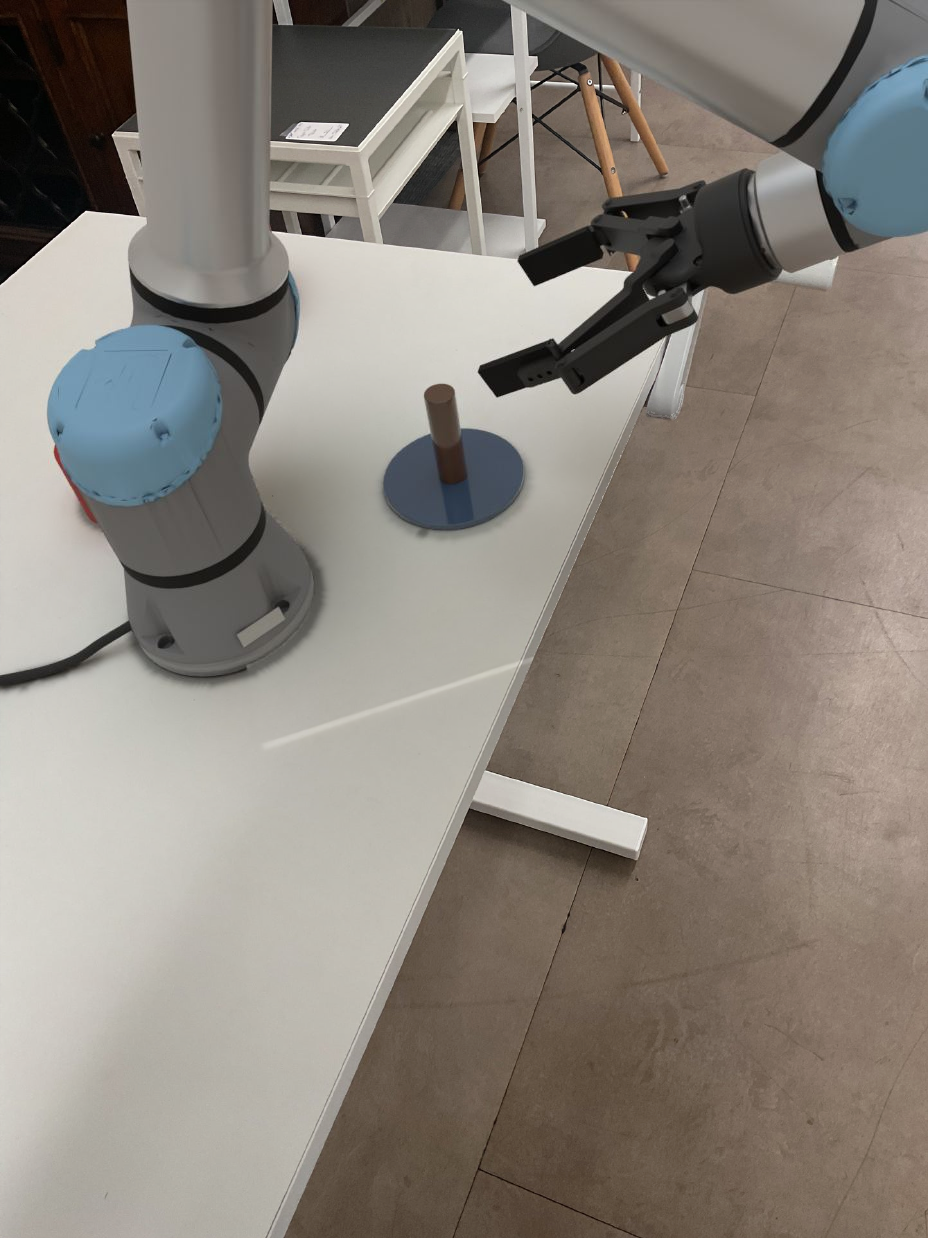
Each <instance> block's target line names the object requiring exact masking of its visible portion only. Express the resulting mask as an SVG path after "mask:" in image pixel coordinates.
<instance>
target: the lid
mask: <svg viewBox="0 0 928 1238" xmlns="http://www.w3.org/2000/svg"><path fill="white" fill-rule="evenodd" d="M423 400H424V405H425V406H424V407H425V411H426V416H427V423H428V426H429V432H430V433H428V434H425V435H423V436H421V437H418V438H416V439H414V440H413V441H411V442H409V443H408V444H406V445H405V446H404V447H402V448H401V449H400V450H399V451H398V452H396V454H395V455H394V456H393V457H392V458H391V460H390V461H389V463H388V465H387V467H386V469H385V471H384V475H383V482H382V485H383V492H384V496H385V499H386V502H387V504H388V506H389V507H390V508H391V510H392V511H393V512H394V513H395V514H396V515H397V516H398V517H400V518H401V519H402V520H404V521H406V522H408V523H409V524H412V525H415V526H417V527H421V528H425V529H428V530H439V531H449V530H450V531H452V530H460V529H466V528H471V527H475V526H477V525H480V524H482V523H483V524H484V523H485V522H488V521H490V520H491V519H494V518H496V517H497V516H498V515H500V514H501V513H503V512H504V511H505V510H507V509H508V508H509V507H510V506H512V504H513V503H514V501H515V500H516V499H517V497H518V496H519V494H520V492H521V490H522V489H523V485H524V482H525V481H524V479H525V466H524V463H523V459H522V456H521V454H520V452H519V451H518V449H516V447H515V446H514V445H513V444H512V443H511V442H509V441H508V440H507V439H505V438H504V437H502V436H500V435H498V434H496V433H493V432H490V431H488V430H487V431H486V430H482V429H477V428H470V427H469V428H466V427H465V428H463V427H462V426H461V422H460V416H459V415H460V414H459V410H458V409H459V408H458V403H457V395H456V390H455V389H454V387H453V386H452V385H450V384H448V383H436V384H435V383H434V384H433V385H430V386H429V387H427V388H426V389H425V390H424V392H423Z"/></svg>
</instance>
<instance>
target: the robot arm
mask: <svg viewBox="0 0 928 1238" xmlns="http://www.w3.org/2000/svg"><path fill="white" fill-rule="evenodd" d="M502 1H503V2H504V3H506V4H509V5H510V6H512V7H514V8H515V9H517V10H520V11H522V12H523V13H525V14H527V15H529V16H531V17H532V18H535V19H536V20H538V21H540V22H542V23H544V24H545V25H547V26H549V27H551V28H553V29H555V30H556V31H559V32H561V33H562V34H564V35H566V36H568V37H570V38H571V39H573V40H575V41H577V42H579V43H581V44H583V45H585V46H587V47H589V48H591V49H592V50H594V51H596V52H598V53H600V54H601V55H603V56H605V57H607V58H609V59H610V60H613V61H615V62H617V63H618V64H620V65H622V66H624V67H626V68H628V69H630V70H631V71H634V72H635V73H637V74H639V75H641V76H643V77H645V78H646V79H648V80H650V81H652V82H654V83H655V84H657V85H660V86H661V87H663V88H665V89H667V90H669V91H671V92H673V93H675V94H677V95H679V96H680V97H682V98H683V99H686V100H688V101H689V102H691V103H693V104H695V105H697V106H699V107H700V108H702V109H704V110H706V111H708V112H710V113H712V114H713V115H715V116H718V117H719V118H721V119H723V120H725V121H727V122H729V123H731V124H732V125H734V126H736V127H738V128H740V129H741V130H744V131H745V132H748V133H749V134H751V135H753V136H754V137H756V138H758V139H761V140H762V141H764V142H766V143H768V144H770V145H772V146H774V147H775V148H777V149H779V150H781V151H780V152H777V153H775V154H773V155H771V156H768V157H766V158H763V159H761V160H759V161H758V162H757V165H756V166H755V170H753V169H750V168H747V167H743V168H742V169H739V170H737V171H735V172H732V173H730V174H727V175H726V176H723V177H721V178H718V179H716V180H714V181H712V182H709V183H706V180H705V179H702V180H698V181H695V182H693V183H690V184H688V185H684V186H682V187H679V188H673V189H672V188H671V189H666V190H659V191H652V192H644V193H636V194H629V195H623V196H622V195H621V196H615V197H610V198H608V199H606V200H605V201H604V202H603V203H602V205H601V209H602V210H603V212H602V213H601V214H598V215H596V216H595V217H593V218H592V220H591V221H590V224H589V225H586V226H583V227H581V228H579V229H576V230H574V231H572V232H569V233H567V234H565V235H563V236H560V237H558V238H556V239H553V240H551V241H549V242H546V243H544V244H542V245H540V246H538V247H536V248H532V249H531V250H529V251H526V252H523V253H521V254H519V255H518V258H517V263H518V265H519V266H520V268H521V270H522V271H523V272H524V274H525V275H526V277H527V278H528V280H529V281H530V283H531V285H532V286H533V287H537V286H539V285H541V284H544V283H546V282H550V281H551V280H553V279H556V278H559V277H561V276H563V275H566V274H569V273H571V272H572V271H573V272H574V271H575V270H577V269H581V268H583V267H585V266H588V265H590V264H592V263H595V262H597V261H600V260H603V258H604V254H605V253H604V250H603V248H602V246H603V247H604V249H605V251H606V252H607V254H608V256H609V257H610V258H611V257H612V255H614V254H615V253H616V252H619V253H622V254H623V253H624V254H628V255H634V256H639V257H640V259H639V260H638V262H637V264H636V266H635V269H634V270H633V271H632V272H631V273H630V274H629V275H628V276H626V277H625V279H624V281H623V286H622V287H623V288H622V289H621V290H620V291H619V292H618V293H616V294H615V295H614V296H612V298H610V299H609V300H608V301H607V302H605V304H603V305H602V306H601V307H600V308H599V309H597V310H596V311H595V312H593V314H592V315H590V316H589V317H588V318H587V319H585V320H584V321H583V322H582V323H581V324H580V325H578V326H577V327H576V328H575V329H574V330H573V331H571V332H570V333H569V334H568V335H567V336H566V337H564V338H563V339H562V340H561V341H559V342H558V343H557V341H556V339H555V338H554V337H552V338H549V339H547V340H544V341H541V342H539V343H535V344H533V345H531V346H528V347H526V348H523V349H520V350H517V351H514V352H512V353H510V354H506V355H504V356H502V357H499V358H495V359H493V360H491V361H488V362H486V363H482V364H480V365H479V367H478V369H477V374H478V375H479V377H481V379H482V380H483V381H484V383H485V385H486V386H487V387H488V389H489V390H490V391H491V392H492V393H493V395H494V396H495V397H496V398H500V397H503V396H506V395H509V394H512V393H515V392H518V391H520V390H524V389H526V388H527V389H529V388H530V389H531V388H532V389H533V388H536V387H538V386H541V385H543V384H547V383H550V382H552V381H555V380H558V379H561V380H562V381H563V383H564V384H565V386H566V387H567V388H568V390H569V392H570V393H571V394H572V395H577V394H580V393H582V392H583V391H585V390H586V389H588V388H589V387H591V386H593V385H594V384H596V383H597V382H598V381H600V380H602V379H603V378H605V377H607V376H608V375H609V374H611V373H613V372H614V371H616V370H617V369H619V368H620V367H622V366H623V365H625V364H626V363H628V362H629V361H631V360H632V359H634V358H635V357H638V356H639V355H640V354H642V353H644V352H645V351H647V350H648V349H649V348H651V347H652V346H654V345H656V344H657V343H658V342H660V341H662V340H663V339H665V338H666V337H668V336H671V335H673V334H676V333H678V332H680V331H682V330H684V329H687V328H689V327H692V326H693V325H695V324H696V323H697V322H698V320H699V314H698V313H697V311H696V310H695V307H694V306H693V297H695V296H696V295H697V294H700V292H702V291H704V290H706V289H708V288H711V287H712V288H717V289H720V290H721V291H723V292H724V293H727V294H729V295H737V294H740V293H743V292H746V291H748V290H751V289H755V288H756V287H759V286H763V285H765V284H767V283H768V284H769V283H771V282H774V281H776V280H777V279H779V276H780V275H781V274H782V272H783V271H784V272H786V273H788V274H794V273H796V272H799V271H802V270H805V269H807V268H811V267H813V266H815V265H818V264H820V263H824V262H827V261H833V260H835V259H837V258H838V257H840V256H842V255H846V254H847V253H853V252H855V251H857V250H861V249H865V248H868V247H870V246H873V245H876V244H880V243H882V242H884V241H888V240H891V239H893V238H904V237H905V238H906V237H911V236H916V235H919V234H920V235H921V234H924V233H927V232H928V0H502ZM273 2H274V1H273V0H126V8H127V9H126V10H127V21H128V31H129V33H128V34H129V42H130V53H131V65H132V75H133V77H132V78H133V86H134V99H135V109H136V118H137V119H136V120H137V130H138V140H139V152H140V153H139V154H140V163H141V164H140V165H141V174H142V175H141V176H142V185H143V196H144V207H145V208H144V209H145V219H146V224H145V225H143V226H142V227H141V228H140V229H138V231H136V232H135V234H134V235H133V236H132V237H131V240H130V242H129V244H128V249H127V262H128V270H129V280H130V281H129V282H130V290H131V298H132V318H131V321H130V325H129V327H126V328H125V327H124V328H121V329H117V330H114V331H112V332H109V333H107V334H105V335H103V336H101V337H99V338H97V339H95V341H94V344H95V346H94V347H93V348H90V349H87V348H82V349H80V350H79V351H78V352H77V353H75V354H74V355H73V356H72V357H71V358H70V359H69V360H68V361H67V363H66V364H65V365H64V366H63V367H62V368H61V370H60V372H59V373H58V375H57V376H56V377H55V380H54V381H53V384H52V386H51V389H50V392H49V394H48V399H47V403H46V404H47V406H46V419H47V426H48V427H47V428H48V430H49V434H50V437H51V438H52V441H53V443H54V446H55V445H56V447H57V449H58V453H59V456H60V460H61V463H62V465H63V467H64V469H65V470H66V473H67V474H68V476H69V478H70V479H71V481H72V482H73V483H74V484H75V485H76V487H77V488H78V490H79V492H80V493H81V495H82V497H83V499H84V500H85V502H86V504H87V506H88V507H89V509H90V511H91V513H92V514H93V516H94V518H95V519H96V521H97V523H98V524H97V523H96V524H97V525H98V527H99V528H100V530H101V532H102V533H103V535H104V537H105V538H106V540H107V542H108V544H109V546H110V547H111V548H112V551H113V552H114V554H115V556H116V557H117V560H118V561H119V563H120V565H121V566H122V568H123V576H124V587H125V588H124V589H125V599H126V611H127V618H128V620H127V621H126V622H124V623H122V624H120V625H119V626H117V627H115V628H113V629H111V630H110V631H108V632H106V633H105V634H103V635H102V636H100V637H99V638H97V639H96V640H94V641H92V642H91V643H90V644H89V645H87V646H86V647H84V648H83V649H82V650H80V651H77V652H76V653H75V654H73V655H70V656H69V657H65V658H63V659H61V660H58V661H55V662H52V663H48V664H46V665H42V666H39V667H34V668H30V669H26V670H20V671H14V672H10V673H9V672H8V673H5V674H4V673H3V674H0V686H5V685H9V684H10V685H11V684H15V683H20V682H26V681H30V680H34V679H35V680H36V679H39V678H42V677H46V676H51V675H53V674H56V673H59V672H62V671H64V670H67V669H70V668H72V667H75V666H77V665H79V664H81V663H83V662H84V661H86V660H88V659H89V658H91V657H92V656H93V655H95V654H96V653H98V652H99V651H101V650H102V649H104V648H105V647H107V646H108V645H110V644H112V643H113V642H115V641H117V640H119V639H120V638H122V637H123V636H125V635H126V634H128V633H130V632H132V634H133V636H134V638H135V639H136V641H137V643H138V645H139V646H140V648H141V650H142V651H143V653H144V654H145V655H146V656H147V657H148V658H149V659H150V660H151V661H152V662H153V663H155V664H156V665H158V666H159V667H161V668H163V669H165V670H167V671H170V672H173V673H175V674H180V675H183V676H189V677H216V676H223V675H229V674H233V673H236V672H239V671H242V670H245V669H247V668H248V667H247V666H248V665H250V664H253V663H255V662H258V661H259V660H261V659H263V658H265V657H267V656H269V655H270V654H271V653H273V652H275V651H276V650H277V649H279V648H280V647H281V646H282V645H284V644H285V643H286V642H287V641H288V640H289V639H290V638H291V637H292V636H293V635H294V634H295V632H297V630H298V629H299V628H300V626H301V625H302V623H303V622H304V620H305V618H306V617H307V615H308V613H309V611H310V608H311V606H312V602H313V597H314V593H315V592H314V590H315V583H314V577H313V571H312V569H311V566H310V563H309V561H308V558H307V555H306V554H305V552H304V551H303V550H302V548H301V546H300V545H299V544H298V543H297V541H296V540H295V539H294V537H292V536H291V535H290V534H289V533H288V532H287V531H286V530H285V529H284V528H283V527H282V526H281V524H279V522H278V521H277V520H276V519H275V518H274V517H273V516H272V515H271V514H270V513H269V512H268V511H267V510H266V509H265V506H264V504H263V501H262V499H261V495H260V493H259V490H258V488H257V485H256V481H255V479H254V476H253V474H252V471H251V469H250V462H249V458H250V453H251V449H252V447H253V444H254V441H255V439H256V436H257V433H258V431H259V429H260V427H261V425H262V422H263V418H264V416H265V413H266V411H267V409H268V406H269V403H270V401H271V400H272V399H271V398H272V397H273V393H274V392H275V389H276V387H277V384H278V381H279V380H280V377H281V375H282V374H281V373H282V372H283V370H284V367H285V365H286V363H287V361H288V360H289V359H290V357H291V355H292V351H293V349H294V348H295V345H296V342H297V338H298V334H299V326H300V316H301V301H300V295H299V294H300V293H299V290H298V287H297V283H296V280H295V278H294V276H293V274H292V272H291V269H290V259H289V254H288V251H287V249H286V246H285V245H284V244H283V242H282V241H281V240H280V238H278V237H277V236H276V234H274V233H273V231H272V232H271V231H269V223H270V215H271V214H270V209H271V207H270V204H271V203H270V201H271V200H270V199H271V145H272V144H271V142H272V141H271V140H272V139H271V137H272V135H271V134H272V133H271V132H272V131H271V130H272V74H273V73H272V72H273V71H272V66H273V65H272V64H273V63H272V61H273ZM625 215H626V216H625ZM649 296H650V297H652V298H649Z"/></svg>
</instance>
